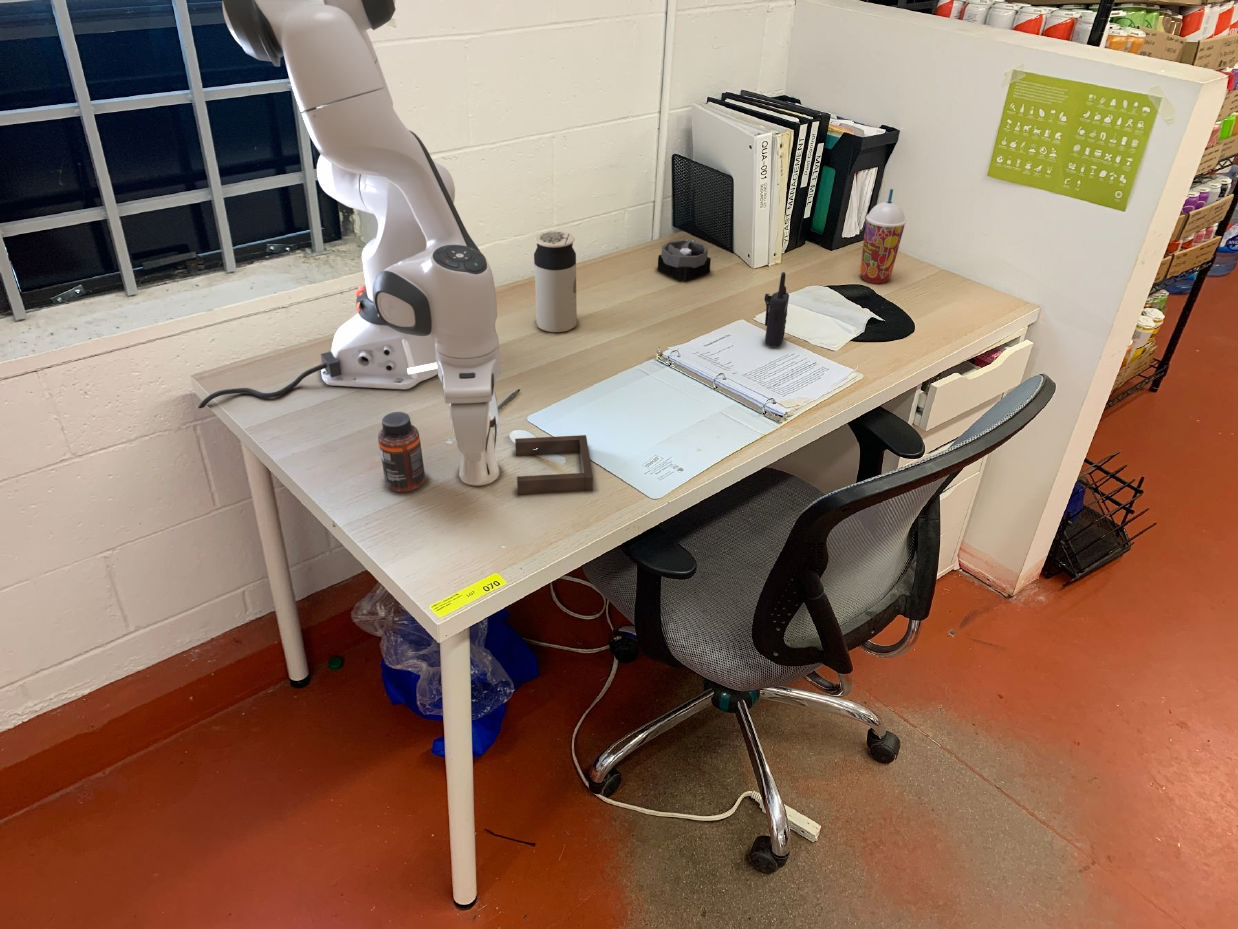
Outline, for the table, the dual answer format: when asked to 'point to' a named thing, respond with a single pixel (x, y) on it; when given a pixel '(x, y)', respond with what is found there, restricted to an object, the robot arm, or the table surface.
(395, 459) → the supplement bottle
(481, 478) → the beer glass
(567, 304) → the travel mug
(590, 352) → the table surface
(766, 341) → the two-way radio
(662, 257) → the cpu cooler
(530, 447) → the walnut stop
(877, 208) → the smoothie
